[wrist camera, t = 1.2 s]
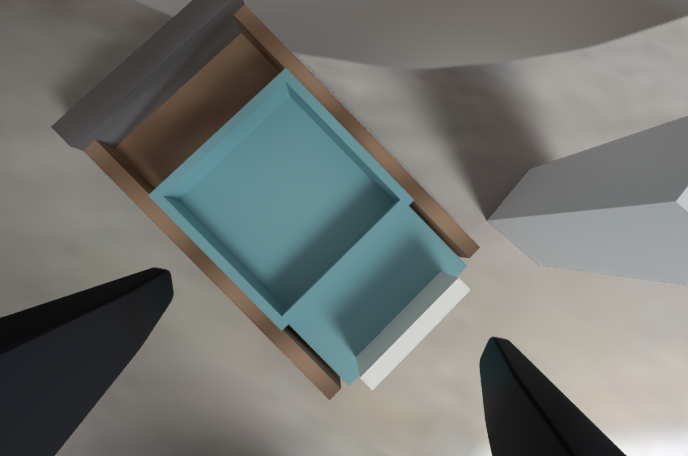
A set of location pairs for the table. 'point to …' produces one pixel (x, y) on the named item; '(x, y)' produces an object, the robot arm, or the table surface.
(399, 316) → the tray
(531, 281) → the table surface
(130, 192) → the dock
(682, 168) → the light grey block
